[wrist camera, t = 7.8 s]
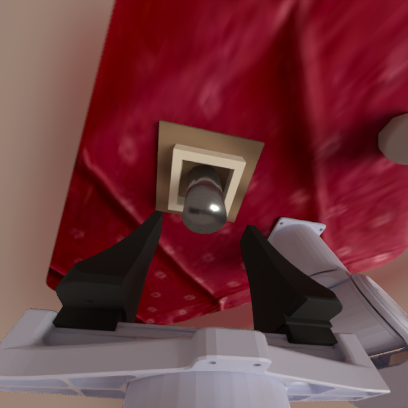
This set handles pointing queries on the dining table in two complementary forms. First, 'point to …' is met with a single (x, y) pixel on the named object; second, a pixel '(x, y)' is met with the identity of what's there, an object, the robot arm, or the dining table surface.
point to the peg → (204, 201)
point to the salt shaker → (395, 140)
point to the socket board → (203, 155)
